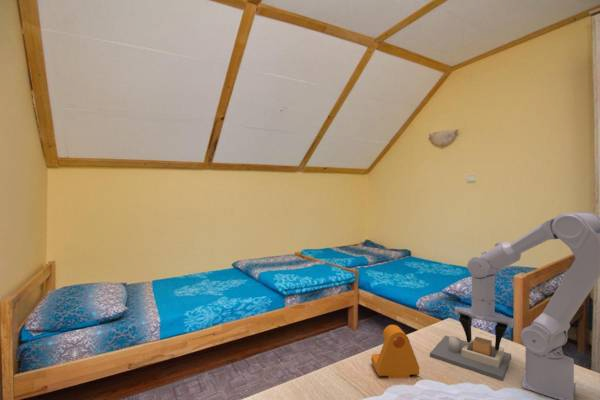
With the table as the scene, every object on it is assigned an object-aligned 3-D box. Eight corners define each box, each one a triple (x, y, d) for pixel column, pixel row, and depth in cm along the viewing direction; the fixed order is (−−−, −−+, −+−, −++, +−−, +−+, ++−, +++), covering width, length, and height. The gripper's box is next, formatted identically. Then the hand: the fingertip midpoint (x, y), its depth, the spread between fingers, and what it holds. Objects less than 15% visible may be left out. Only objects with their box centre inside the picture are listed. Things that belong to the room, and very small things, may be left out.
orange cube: (491, 356, 88) (491, 340, 88) (489, 362, 85) (489, 345, 85) (475, 351, 91) (476, 336, 91) (472, 357, 88) (472, 341, 88)
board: (511, 357, 89) (511, 342, 89) (502, 380, 78) (502, 363, 78) (445, 338, 101) (445, 324, 101) (429, 356, 90) (429, 341, 90)
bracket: (407, 362, 87) (407, 320, 87) (419, 377, 80) (419, 331, 80) (370, 363, 86) (370, 321, 86) (378, 379, 79) (378, 332, 79)
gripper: (451, 296, 90) (451, 342, 90) (511, 308, 80) (511, 359, 81) (458, 290, 95) (458, 333, 95) (515, 301, 86) (514, 349, 86)
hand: (482, 345), depth 88 cm, fingers open, 6 cm apart
